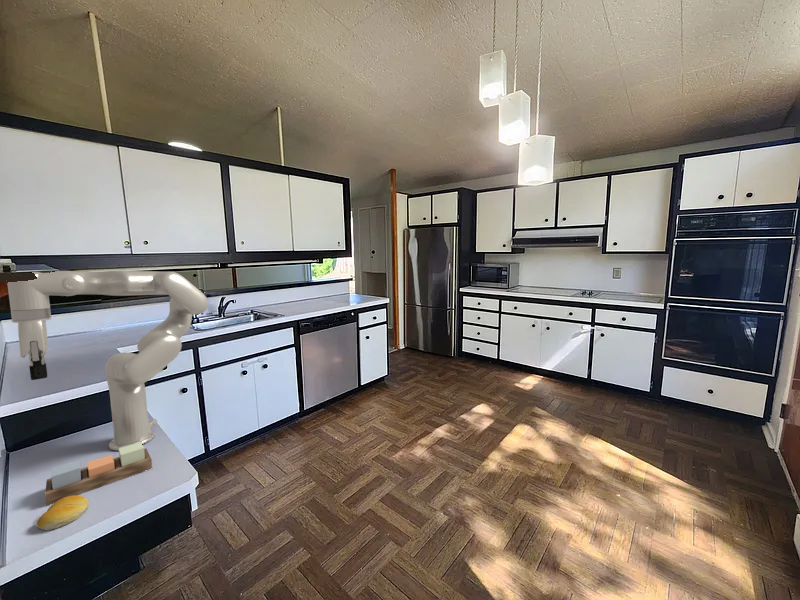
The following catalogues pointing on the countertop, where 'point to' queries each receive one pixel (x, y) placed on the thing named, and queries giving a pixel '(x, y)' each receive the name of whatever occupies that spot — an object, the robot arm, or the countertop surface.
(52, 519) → the bread roll
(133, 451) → the sage button
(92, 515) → the countertop surface
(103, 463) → the orange block
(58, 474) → the slate button
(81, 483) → the wooden tray
